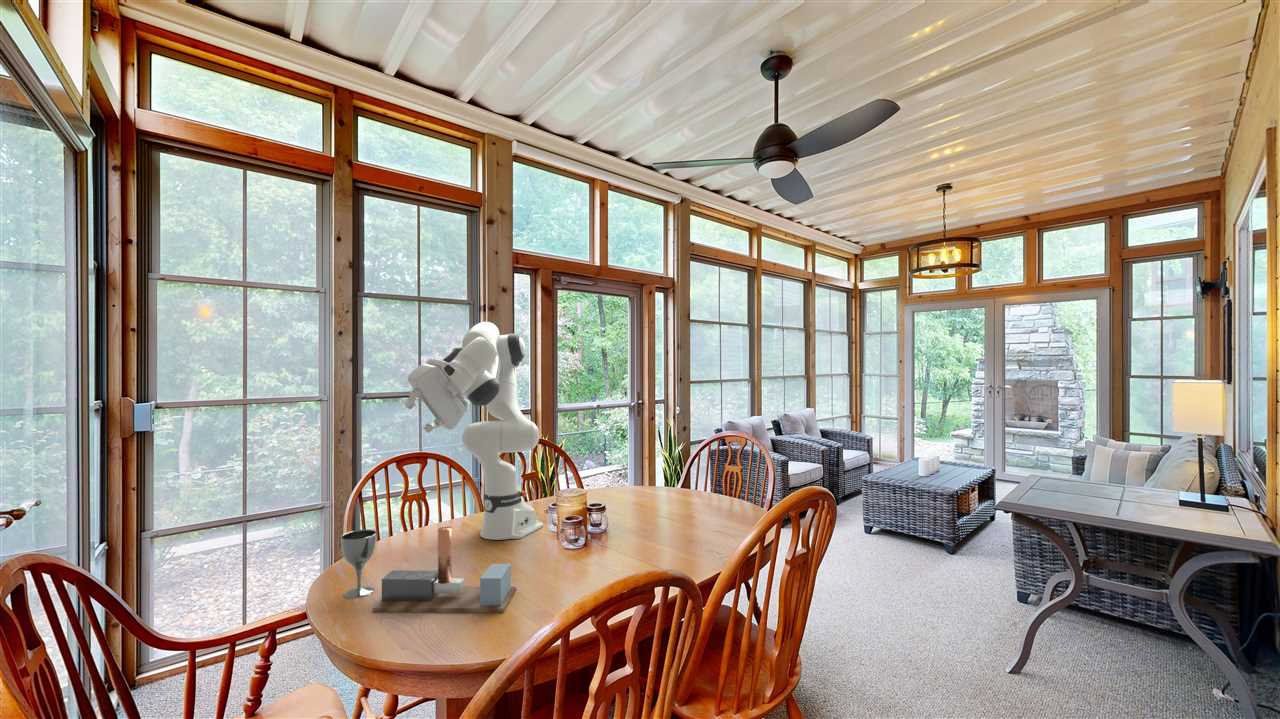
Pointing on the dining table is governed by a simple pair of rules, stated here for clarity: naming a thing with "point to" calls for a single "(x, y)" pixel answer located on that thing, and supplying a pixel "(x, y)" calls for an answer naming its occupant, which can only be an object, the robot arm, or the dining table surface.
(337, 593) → the dining table surface
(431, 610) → the walnut board
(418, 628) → the dining table surface
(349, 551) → the wine glass
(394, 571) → the graphite sleeve
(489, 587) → the socket block
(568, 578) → the dining table surface
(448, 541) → the upright copper peg
